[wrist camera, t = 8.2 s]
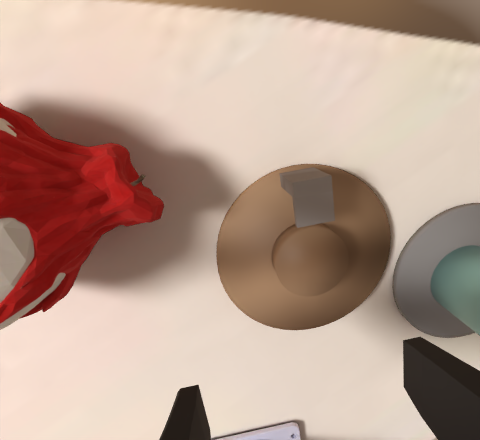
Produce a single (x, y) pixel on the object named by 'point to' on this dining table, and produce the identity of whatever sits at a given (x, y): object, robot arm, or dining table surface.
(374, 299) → the dining table surface
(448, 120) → the dining table surface
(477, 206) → the coaster
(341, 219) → the tan wide-brim hat
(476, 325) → the kettle
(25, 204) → the multicoloured piece
